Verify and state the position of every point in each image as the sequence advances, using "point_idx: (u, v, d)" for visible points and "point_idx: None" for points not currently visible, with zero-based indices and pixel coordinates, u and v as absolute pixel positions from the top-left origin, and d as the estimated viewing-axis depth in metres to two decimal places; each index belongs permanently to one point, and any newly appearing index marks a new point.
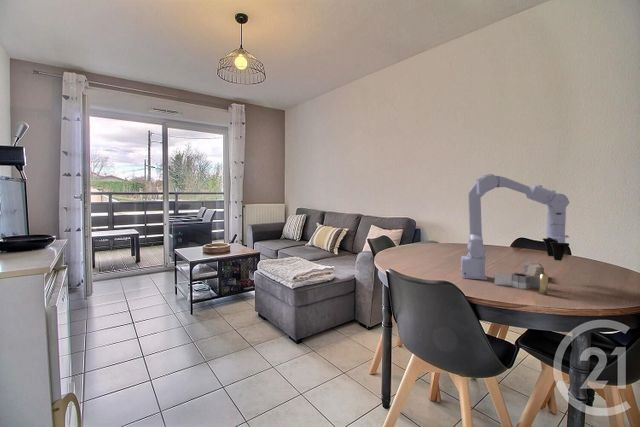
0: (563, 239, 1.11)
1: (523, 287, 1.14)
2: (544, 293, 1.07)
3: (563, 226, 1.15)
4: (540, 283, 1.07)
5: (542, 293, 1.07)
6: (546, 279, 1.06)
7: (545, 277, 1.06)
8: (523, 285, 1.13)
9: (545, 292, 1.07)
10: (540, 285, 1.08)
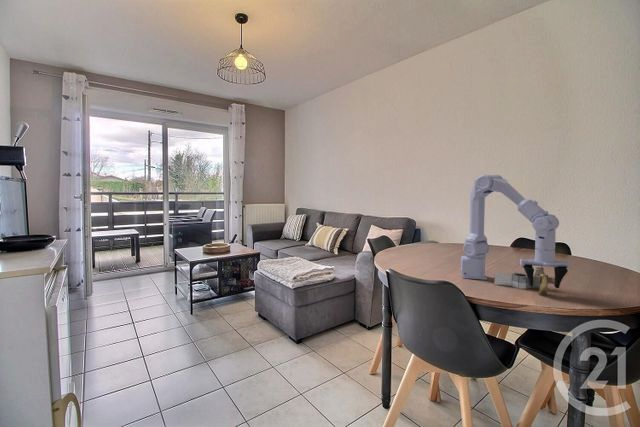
0: (520, 261, 1.09)
1: (523, 287, 1.14)
2: (544, 293, 1.07)
3: (539, 251, 1.06)
4: (540, 283, 1.07)
5: (542, 293, 1.07)
6: (546, 279, 1.06)
7: (545, 277, 1.06)
8: (523, 285, 1.13)
9: (545, 292, 1.07)
10: (540, 285, 1.08)
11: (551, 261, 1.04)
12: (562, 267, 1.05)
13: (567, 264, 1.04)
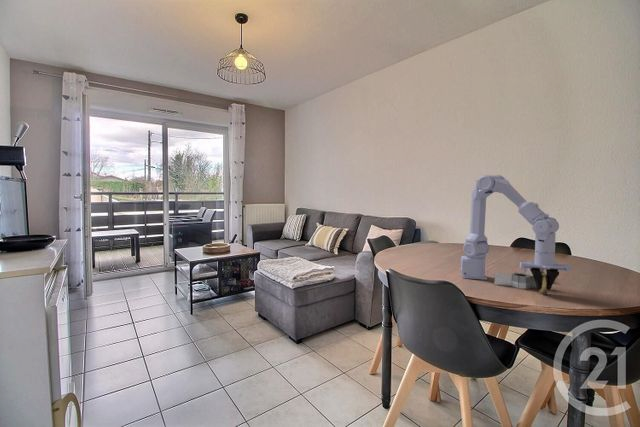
0: (520, 264, 1.09)
1: (523, 287, 1.14)
2: (544, 293, 1.07)
3: (538, 254, 1.06)
4: None
5: (542, 293, 1.07)
6: (546, 279, 1.06)
7: (545, 277, 1.06)
8: (523, 285, 1.13)
9: (545, 292, 1.07)
10: None
11: (551, 264, 1.04)
12: (562, 270, 1.05)
13: (567, 267, 1.04)
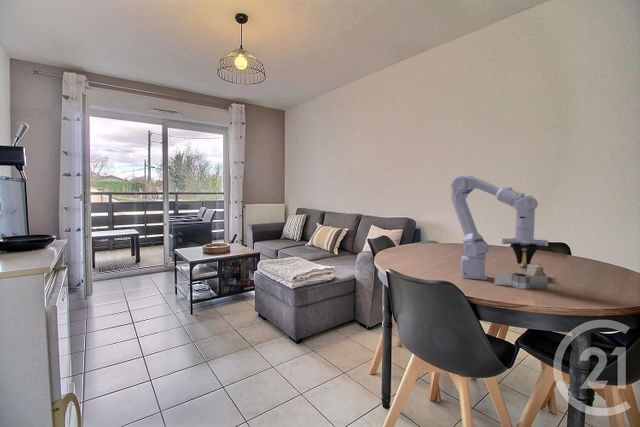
0: (502, 240, 1.16)
1: (523, 287, 1.14)
2: (524, 267, 1.14)
3: (519, 230, 1.13)
4: (521, 258, 1.14)
5: (522, 267, 1.14)
6: (526, 253, 1.13)
7: (525, 252, 1.13)
8: (523, 285, 1.13)
9: (525, 266, 1.13)
10: None
11: (530, 239, 1.11)
12: None
13: (545, 242, 1.11)
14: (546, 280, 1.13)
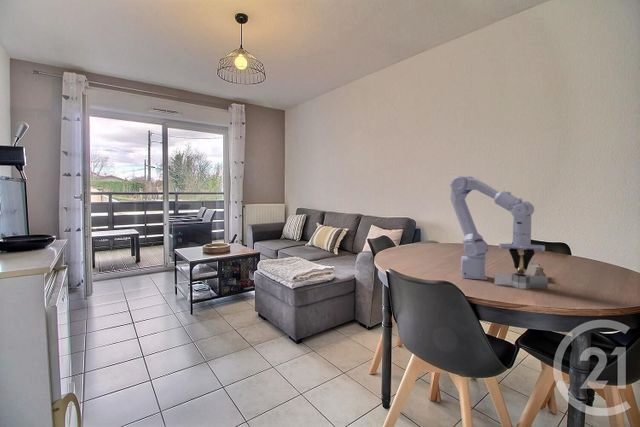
0: (499, 245, 1.17)
1: (523, 287, 1.14)
2: (521, 272, 1.15)
3: (516, 235, 1.14)
4: (518, 263, 1.15)
5: (519, 272, 1.15)
6: (523, 258, 1.14)
7: (522, 257, 1.14)
8: (523, 285, 1.13)
9: (522, 271, 1.15)
10: None
11: (527, 244, 1.12)
12: (537, 250, 1.13)
13: (542, 247, 1.12)
14: (546, 280, 1.13)
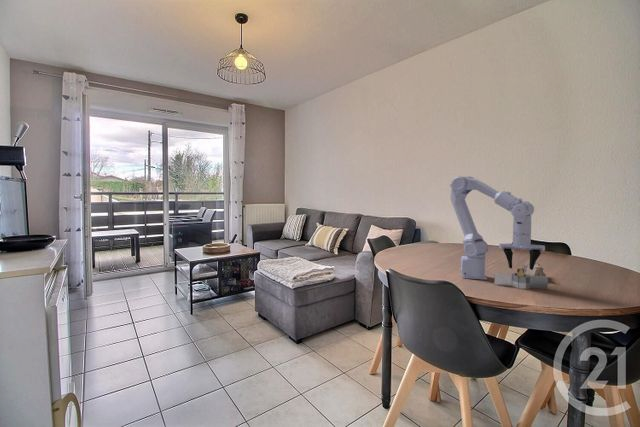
0: (499, 245, 1.17)
1: (523, 287, 1.14)
2: None
3: (516, 235, 1.14)
4: None
5: None
6: (523, 272, 1.15)
7: (522, 271, 1.15)
8: (523, 285, 1.13)
9: None
10: None
11: (527, 244, 1.12)
12: (537, 250, 1.13)
13: (542, 247, 1.12)
14: (546, 280, 1.13)
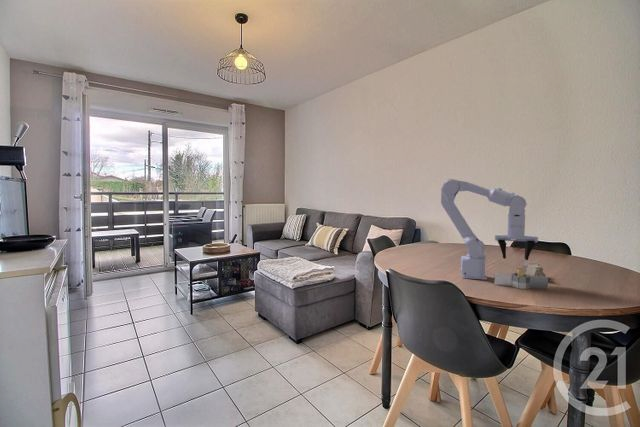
0: (495, 237, 1.24)
1: (523, 287, 1.14)
2: None
3: (510, 227, 1.20)
4: None
5: None
6: (523, 272, 1.15)
7: (522, 271, 1.15)
8: (523, 285, 1.13)
9: None
10: None
11: (521, 236, 1.18)
12: (531, 241, 1.19)
13: (535, 238, 1.18)
14: (546, 280, 1.13)
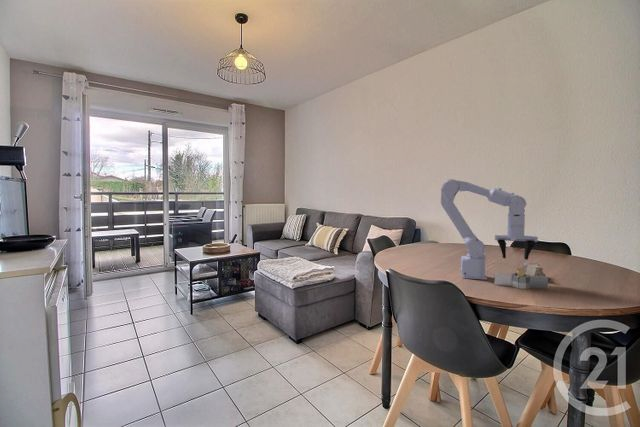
0: (495, 236, 1.24)
1: (523, 287, 1.14)
2: None
3: (510, 227, 1.21)
4: None
5: None
6: (523, 272, 1.15)
7: (522, 271, 1.15)
8: (523, 285, 1.13)
9: None
10: None
11: (521, 235, 1.19)
12: (530, 241, 1.19)
13: (534, 238, 1.18)
14: (546, 280, 1.13)
